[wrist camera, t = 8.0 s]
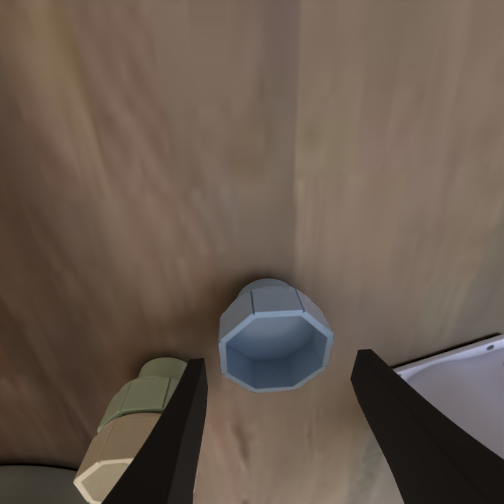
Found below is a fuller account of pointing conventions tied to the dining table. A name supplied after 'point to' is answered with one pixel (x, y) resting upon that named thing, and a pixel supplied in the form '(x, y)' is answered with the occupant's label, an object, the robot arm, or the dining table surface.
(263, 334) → the blue bowl
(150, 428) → the ivory bowl
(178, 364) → the celadon bowl
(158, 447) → the robot arm
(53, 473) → the cake pan
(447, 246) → the dining table surface
